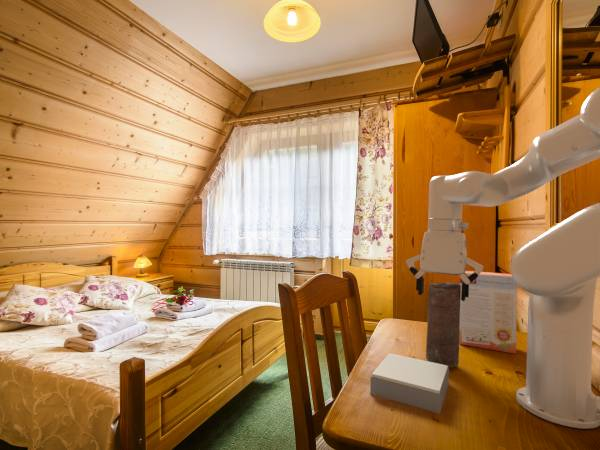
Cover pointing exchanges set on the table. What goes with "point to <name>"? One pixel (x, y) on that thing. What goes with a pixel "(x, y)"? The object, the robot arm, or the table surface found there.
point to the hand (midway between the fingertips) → (441, 296)
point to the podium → (411, 382)
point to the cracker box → (489, 312)
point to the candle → (443, 324)
